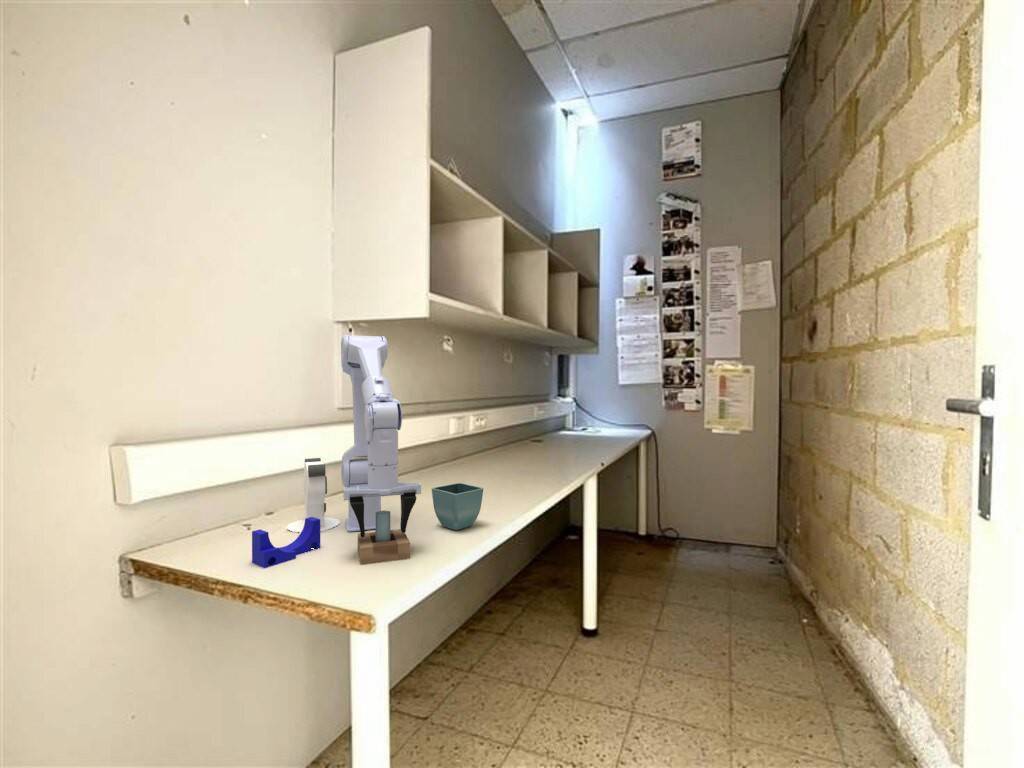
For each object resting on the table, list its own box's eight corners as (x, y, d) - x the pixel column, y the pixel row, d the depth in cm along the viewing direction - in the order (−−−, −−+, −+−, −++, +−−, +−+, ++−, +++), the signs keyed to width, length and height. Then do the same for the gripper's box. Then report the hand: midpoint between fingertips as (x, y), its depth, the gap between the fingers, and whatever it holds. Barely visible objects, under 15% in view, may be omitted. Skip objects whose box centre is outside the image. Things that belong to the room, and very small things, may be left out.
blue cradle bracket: (264, 569, 88) (264, 536, 88) (252, 563, 90) (252, 531, 90) (324, 550, 97) (324, 520, 97) (311, 546, 100) (311, 516, 100)
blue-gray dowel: (375, 551, 96) (375, 511, 96) (389, 550, 97) (389, 510, 97) (375, 556, 93) (375, 514, 93) (390, 555, 94) (390, 513, 94)
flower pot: (484, 526, 113) (484, 487, 113) (456, 535, 106) (456, 494, 106) (459, 518, 119) (459, 482, 119) (430, 527, 112) (430, 488, 112)
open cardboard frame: (357, 548, 98) (357, 533, 98) (403, 543, 101) (403, 528, 101) (360, 564, 89) (360, 548, 89) (410, 558, 92) (410, 542, 92)
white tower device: (343, 529, 110) (343, 463, 110) (288, 537, 105) (288, 467, 105) (336, 516, 121) (336, 456, 121) (285, 522, 116) (285, 459, 116)
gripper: (344, 469, 89) (344, 544, 89) (424, 464, 94) (424, 535, 94) (343, 463, 95) (343, 532, 95) (417, 459, 100) (417, 525, 100)
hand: (383, 533), depth 95 cm, fingers open, 7 cm apart
